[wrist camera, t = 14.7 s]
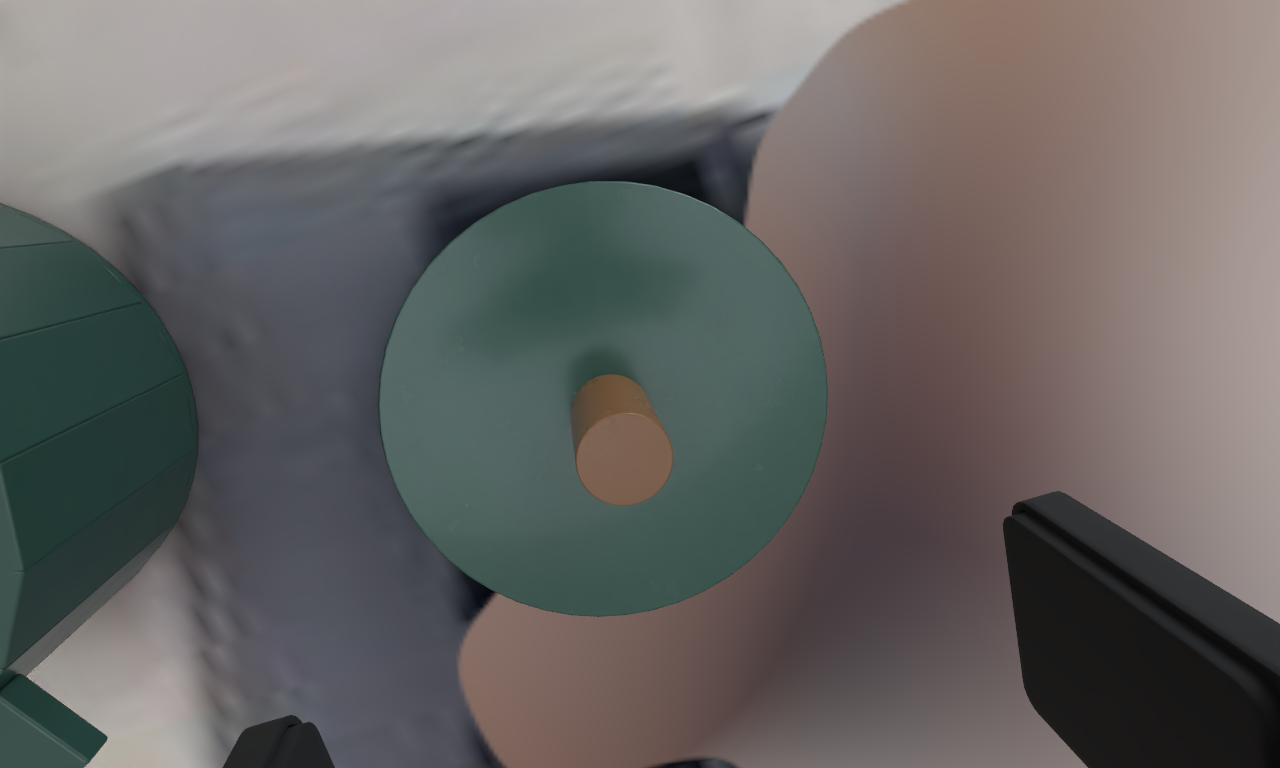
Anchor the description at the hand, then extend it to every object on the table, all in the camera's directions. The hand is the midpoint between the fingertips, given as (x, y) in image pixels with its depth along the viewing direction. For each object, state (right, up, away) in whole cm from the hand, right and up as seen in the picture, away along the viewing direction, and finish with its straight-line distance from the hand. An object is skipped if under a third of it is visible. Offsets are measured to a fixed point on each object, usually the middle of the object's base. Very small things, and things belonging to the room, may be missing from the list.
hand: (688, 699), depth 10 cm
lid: (-2, +3, +17) cm, 18 cm away
